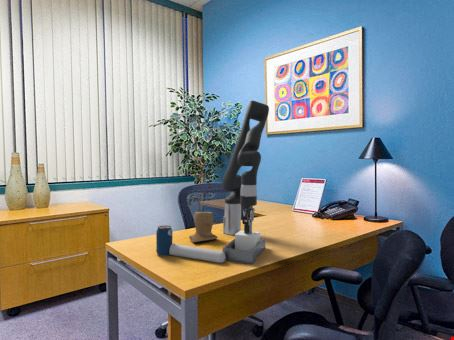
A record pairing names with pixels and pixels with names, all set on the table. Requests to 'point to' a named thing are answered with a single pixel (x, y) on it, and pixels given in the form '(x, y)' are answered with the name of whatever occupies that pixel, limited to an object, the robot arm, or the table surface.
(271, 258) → the table surface
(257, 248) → the bay
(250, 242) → the white knobbed block
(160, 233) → the soda can
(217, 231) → the table surface
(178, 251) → the tube
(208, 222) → the stone cup
